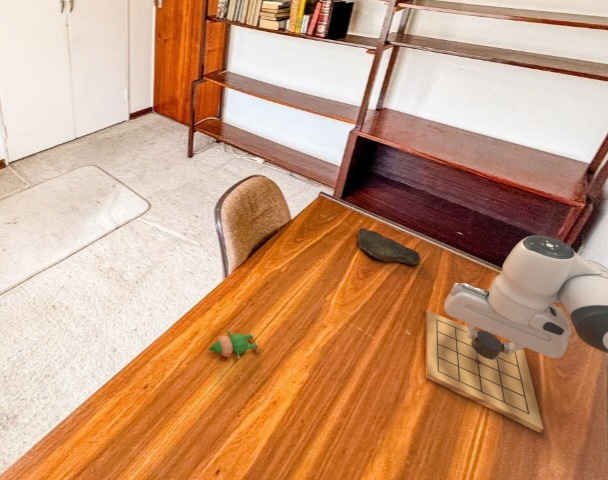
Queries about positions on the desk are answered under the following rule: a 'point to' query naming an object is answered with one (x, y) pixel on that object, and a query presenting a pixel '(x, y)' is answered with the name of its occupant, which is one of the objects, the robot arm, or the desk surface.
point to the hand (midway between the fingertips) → (487, 344)
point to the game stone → (487, 345)
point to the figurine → (233, 344)
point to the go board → (480, 372)
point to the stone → (386, 248)
